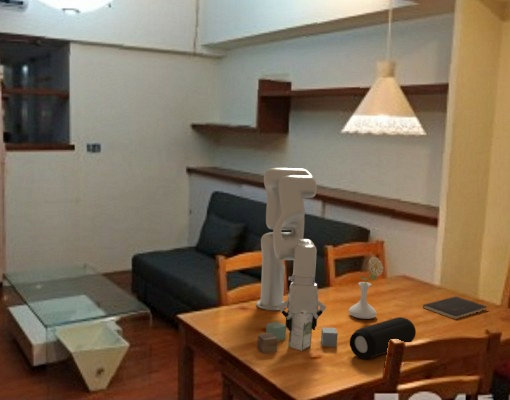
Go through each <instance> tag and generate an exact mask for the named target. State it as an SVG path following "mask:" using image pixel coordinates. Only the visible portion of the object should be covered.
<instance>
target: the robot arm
mask: <svg viewBox="0 0 510 400" xmlns="http://www.w3.org/2000/svg"><path fill="white" fill-rule="evenodd" d="M263 174H264V175H263V184H264V189H265V192H266V210H265V223H266V227H267V228H268V229H270V230H273V231H272V232H271V231H270V232H266V233H264V234H263V235H262V236H261V239H260V247H261V280H260V281H261V283H260V284H261V286H260V299H259V300H257V301H256V306H257V307H258V308H259V309H261V310H266V311H280V312H281V314H282V315H283V316H284V317H285V325H286V329H287V330H288V331H290V330H291V316H292V315H293V314H300V311H301V310H307V313H308V314H313V323H312V331H316V328H317V326H318V320H319V317H320V316H321V315H322V314H323V313H324V312H325V310H326V309H327V306H326V305H325V304H324V303H323V302H321V301H319V292H318V290H319V289H318V288H319V287H318V283H316V281H315V280H316V267H317V265H316V264H317V253H318V252H317V250H318V249H317V246H316V245H315V243H314V242H313V241H312V240H311V239H309V238H304V234H305V213H306V208H305V203H304V199H305V198H306V199H311V198H314V197H315V196H316V195H317V190H318V186H317V181H316V179H315V176H314V175H312V174H311V172H310V171H308V169H305V168H298V167H297V168H296V167H295V168H292V167H289V168H288V167H271V168H268V169H266V170H265V171H264V173H263ZM282 231H284V232H282ZM285 231H289V232H285ZM290 231H291V232H290ZM283 261H293V269H292V275H291V276H288V281H290V285H289V289H288V295H287V300H285V301H284V292H285V291H284V288H285V285H284V284H285V269H286V268H285V267H286V266H285V263H284V262H283ZM319 307H320V308H319ZM286 308H287V311H285V309H286Z"/></svg>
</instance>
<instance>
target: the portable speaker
mask: <svg viewBox="0 0 510 400" xmlns="http://www.w3.org/2000/svg"><path fill="white" fill-rule="evenodd" d="M416 333H417V331H416V327H415V324H413V322H412V321H411V320H409V319H408V318H405V317H401V316H400V317H395V318H390V319H388V320H384V321H381V322H377V323H375V324H371V325H368V326H365V327H361V328H358V329H357V330H355V331H354V332H353V333H352V334H351V336H350V338H349V347H350V349H351V351H352V353H353V354H354V355H355V356H356V357H357V358H362V359H364V360H365V359H366V360H367V359H368V360H370V359H372V358H375V357H377V356H380V355H382V354H385V353H388V352H387V348H388V342H389V340H390V339H399V340H401V341H404V342H411V343H412V342H413V340H414V339H415V337H416Z"/></svg>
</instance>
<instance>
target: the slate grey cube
mask: <svg viewBox="0 0 510 400" xmlns="http://www.w3.org/2000/svg"><path fill="white" fill-rule="evenodd" d="M320 342H321V346H322V347H331V348H337V347H338V331H337V328H336V327H321V335H320Z"/></svg>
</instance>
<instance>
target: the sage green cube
mask: <svg viewBox="0 0 510 400" xmlns="http://www.w3.org/2000/svg"><path fill="white" fill-rule="evenodd" d="M265 326H266V327H265V331H266V332H265V333H272V334H273V335H274V336H276V337H277V338H278V339H277V342H279V341H283V340H285V339H286V337H287V336H286V335H287V333H286V332H287V327H286V324H283V323H282V322H279V321H273V322H269V323H266V324H265Z"/></svg>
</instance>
